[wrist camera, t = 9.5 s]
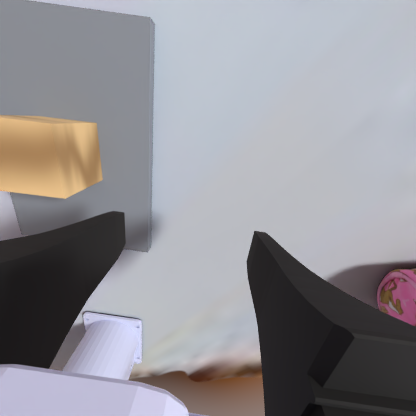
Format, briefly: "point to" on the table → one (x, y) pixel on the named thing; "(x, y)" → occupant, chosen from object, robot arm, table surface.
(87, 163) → the ochre cube
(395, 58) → the table surface
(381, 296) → the pencil case
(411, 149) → the table surface
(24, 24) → the mat
